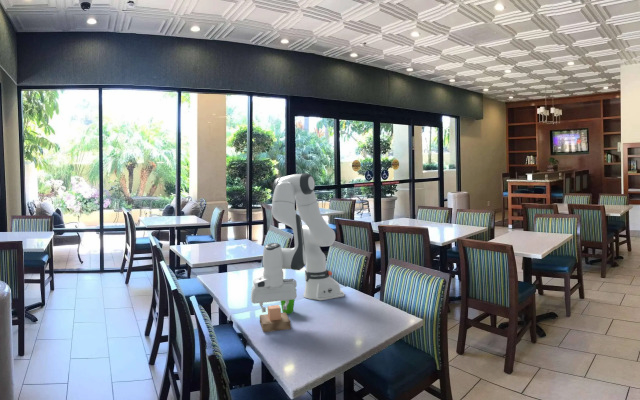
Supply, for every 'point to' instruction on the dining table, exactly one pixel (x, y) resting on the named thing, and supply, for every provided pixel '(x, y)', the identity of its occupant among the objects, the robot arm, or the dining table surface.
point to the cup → (288, 306)
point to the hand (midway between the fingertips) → (274, 310)
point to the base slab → (275, 323)
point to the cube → (274, 312)
